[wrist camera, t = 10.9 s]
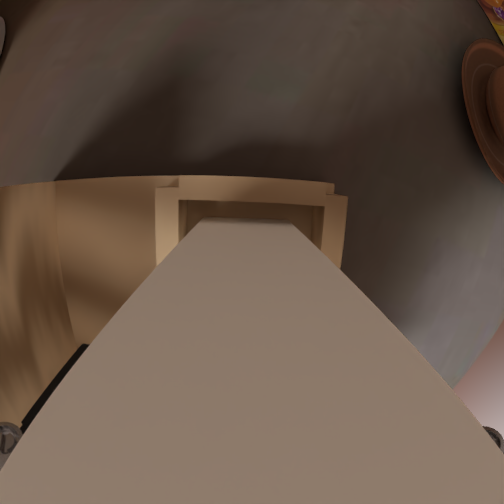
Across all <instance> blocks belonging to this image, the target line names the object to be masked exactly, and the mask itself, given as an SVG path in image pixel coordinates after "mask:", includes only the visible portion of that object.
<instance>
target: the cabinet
mask: <svg viewBox="0 0 504 504" xmlns="http://www.w3.org/2000/svg"><path fill="white" fill-rule="evenodd" d="M334 185H335V184H333V183H327V182H316V181H305V180H292V179H278V178H261V177H240V176H206V175H179V176H127V177H105V178H88V179H75V180H62V181H51V182H40V183H30V184H21V185H13V186H5V187H0V422H10V423H13V424H15V425H17V426H18V427H19V428H20V427H21V426H22V423H21V421H22V420H23V419H24V417H25V416H26V414H27V413H28V412H29V410H30V409H31V408H32V406H33V405H34V404H35V402H36V401H37V400H38V398H39V397H40V396H41V394H42V393H43V392H44V390H45V389H46V388H47V386H48V385H49V384H50V383H51V381H52V380H53V379H54V377H55V376H56V375H57V374H58V372H59V371H60V370H61V369H62V367H63V366H64V365H65V364H66V362H67V361H68V360H69V359H70V358H71V356H72V355H73V354H74V353H75V352H76V350H77V349H78V348H79V347H80V346H81V345H82V344H91V343H92V341H93V340H94V339H95V338H96V336H97V335H98V334H99V333H100V332H101V330H102V329H103V328H104V327H105V326H106V324H107V323H108V322H109V321H110V320H111V318H112V317H113V316H114V315H115V314H116V313H117V311H118V310H119V309H120V308H121V307H122V305H123V304H124V303H125V302H126V301H127V300H128V299H129V297H130V296H131V295H132V294H133V293H134V292H135V291H136V289H137V288H138V287H139V286H140V285H141V284H142V283H143V282H144V280H145V279H146V278H147V277H148V276H149V275H150V274H151V273H152V271H153V270H154V269H155V268H156V267H157V266H158V265H159V264H160V263H161V262H162V261H163V259H164V258H165V257H166V256H167V255H168V254H169V253H170V252H171V251H172V250H173V249H174V248H175V247H176V245H177V244H178V243H179V242H180V241H181V240H182V239H183V238H184V237H185V236H186V235H187V234H188V233H189V232H190V231H191V230H192V229H193V228H194V227H195V226H196V225H197V224H198V222H199V221H200V220H201V219H202V218H203V217H223V218H255V219H280V220H289V221H290V222H291V223H292V224H293V225H294V226H295V227H296V228H297V229H298V230H299V231H300V232H301V233H302V234H304V235H305V236H306V237H307V238H308V239H309V240H310V241H311V242H312V243H313V244H314V245H315V246H316V247H317V248H318V249H319V250H320V251H321V252H322V253H323V254H324V255H325V256H327V257H328V258H329V259H330V260H331V261H332V262H333V263H334V264H335V265H336V266H337V267H338V268H339V269H340V267H341V260H342V252H343V244H344V235H345V226H346V216H347V204H348V196H343V195H338V194H334Z"/></svg>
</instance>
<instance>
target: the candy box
mask: <svg viewBox="0 0 504 504" xmlns="http://www.w3.org/2000/svg"><path fill="white" fill-rule="evenodd" d="M477 1H478V3H479V4H480V6H481V7H482V9H483V10H484V12H485V13H486V15H487V17H488V18H489V20H490V22H491V23H492V25H493V27H494V29H495V30H496V32H497V34H498V36H499V37H500V39H501V41H502V43H503V45H504V0H477Z"/></svg>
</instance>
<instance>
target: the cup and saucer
mask: <svg viewBox="0 0 504 504" xmlns="http://www.w3.org/2000/svg"><path fill="white" fill-rule="evenodd" d="M462 87H463V95H464V101H465V106H466V110H467V114H468V118H469V121H470V124H471V127H472V130H473V133H474V136H475V138H476V141H477V143H478V146H479V148H480V150H481V152H482V154H483V156H484V158H485V160H486V162H487V163H488V165H489V167H490V168H491V170H492V171H493V173H494V174H495V176H496V177H497V178H498V179H499V180H500V181H501V182H502V183H503V184H504V47H503V46H502V45H501V44H499V43H497V42H495V41H493V40H490V39H483V38H482V39H478V40H476V41H474V42H473V43H472V44H471V45H470V46H469V47H468V48H467V50H466V52H465V55H464V58H463V62H462Z"/></svg>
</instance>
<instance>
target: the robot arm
mask: <svg viewBox="0 0 504 504" xmlns="http://www.w3.org/2000/svg"><path fill="white" fill-rule="evenodd" d="M4 37H5V22H4V20H3V18H2V17H1V16H0V55H1V51H2V47H3V44H4ZM89 345H90V344H82V345H81V346H80V347H79V348H78V349H77V350H76V352H75V353H74V354H73V355H72V356H71V358H70V359H69V360H68V361H67V362H66V364H65V365H64V366H63V367H62V369H61V370H60V371H59V372H58V374H57V375H56V376H55V377H54V379H53V380H52V381H51V383H50V384H49V385H48V386H47V388H46V389H45V390H44V392H43V393H42V394H41V396H40V397H39V398H38V400H37V401H36V402H35V404H34V405H33V406H32V408H31V409H30V410H29V412H28V413H27V414H26V416H25V417H24V419H23V420H22V421H21V423H22V426H21V427H20V428H19V427H18V426H17V425H15V424H13V423H10V422H0V471H1V469H2V467H3V466H4V464H5V462H6V461H7V459H8V458H9V456H10V454H11V453H12V451H13V450H14V448H15V447H16V445H17V444H18V442H19V440H20V439H21V437H22V436H23V434H24V433H25V431H26V430H27V428H28V427H29V426H30V424H31V423H32V421H33V420H34V418H35V417H36V415H37V414H38V413H39V411H40V410H41V408H42V407H43V406H44V404H45V403H46V401H47V400H48V399H49V397H50V396H51V394H52V393H53V392H54V390H55V389H56V388H57V386H58V385H59V384H60V382H61V381H62V380H63V378H64V377H65V376H66V374H67V373H68V372H69V371H70V369H71V368H72V367H73V365H74V364H75V363H76V361H77V360H78V359H79V358H80V356H81V355H82V354H83V353H84V351H85V350H86V349H87V348H88V346H89ZM482 427H483V428H484V429H485V430H486V432H487V433H488V434H489V435H490V437H491V438H492V439H493V441H494V442H495V443H496V445H497V446H498V447H499V449H500V450H501V451H502V453H503V454H504V440H503V438H502V436H501V434H500V433H499V432H498V431H496V430H495V429H493V428H490V427H484V426H482Z"/></svg>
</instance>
